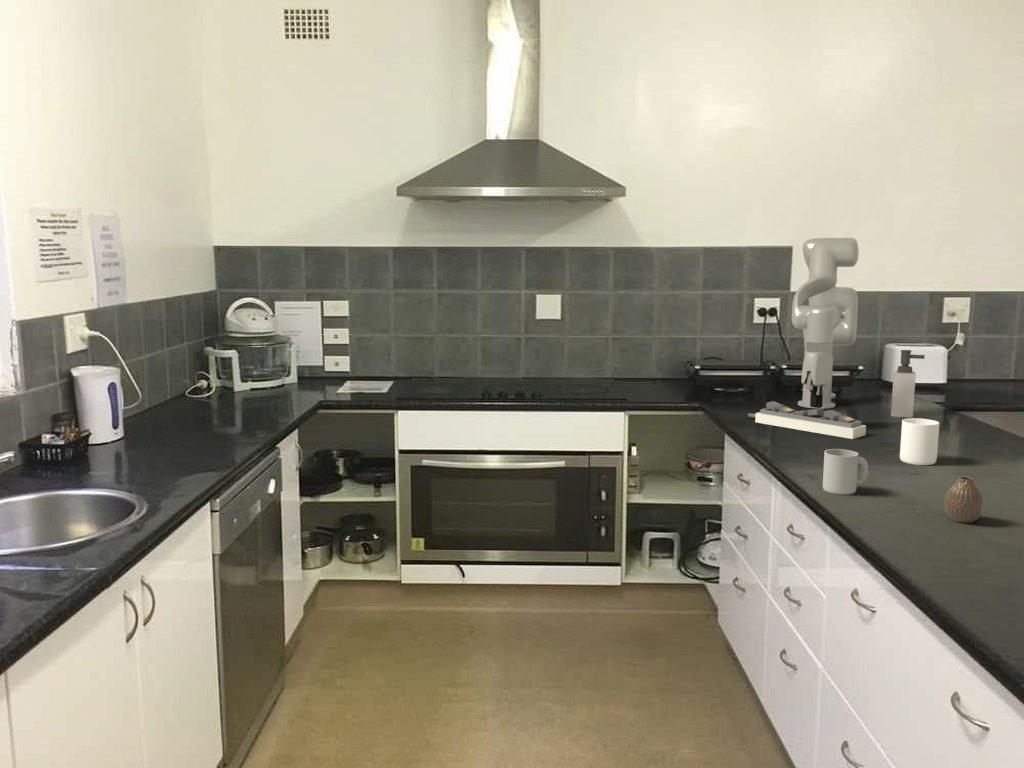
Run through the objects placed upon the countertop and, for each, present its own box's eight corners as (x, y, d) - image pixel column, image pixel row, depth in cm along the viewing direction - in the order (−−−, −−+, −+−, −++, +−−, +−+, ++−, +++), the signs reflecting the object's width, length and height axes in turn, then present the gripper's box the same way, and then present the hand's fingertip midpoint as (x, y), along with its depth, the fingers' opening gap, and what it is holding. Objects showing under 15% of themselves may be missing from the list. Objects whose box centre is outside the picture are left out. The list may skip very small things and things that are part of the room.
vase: (945, 523, 160) (949, 481, 158) (940, 513, 166) (944, 472, 165) (985, 527, 157) (988, 484, 156) (978, 516, 164) (982, 475, 162)
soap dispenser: (920, 418, 263) (925, 352, 260) (891, 416, 267) (895, 351, 263) (919, 414, 269) (924, 350, 265) (891, 412, 272) (895, 349, 269)
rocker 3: (830, 414, 245) (831, 409, 244) (853, 424, 239) (855, 418, 239) (823, 416, 242) (824, 410, 242) (847, 426, 237) (848, 420, 236)
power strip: (755, 416, 268) (755, 404, 267) (865, 435, 239) (866, 421, 238) (742, 419, 263) (742, 407, 262) (852, 439, 234) (853, 424, 233)
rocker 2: (801, 416, 252) (800, 410, 252) (824, 413, 246) (823, 407, 246) (794, 417, 250) (793, 412, 250) (817, 415, 244) (816, 409, 244)
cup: (817, 486, 186) (819, 449, 185) (860, 485, 186) (862, 448, 185) (829, 495, 179) (831, 456, 178) (874, 494, 179) (876, 456, 178)
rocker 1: (772, 405, 260) (773, 400, 259) (793, 414, 254) (795, 409, 254) (765, 407, 258) (766, 402, 257) (786, 416, 252) (788, 411, 251)
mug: (924, 454, 215) (927, 415, 213) (941, 466, 203) (944, 425, 201) (890, 454, 216) (893, 415, 214) (906, 465, 204) (908, 424, 202)
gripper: (820, 345, 251) (817, 402, 253) (794, 348, 241) (791, 408, 244) (843, 347, 245) (839, 405, 248) (817, 350, 236) (814, 411, 238)
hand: (816, 406), depth 246 cm, fingers closed
